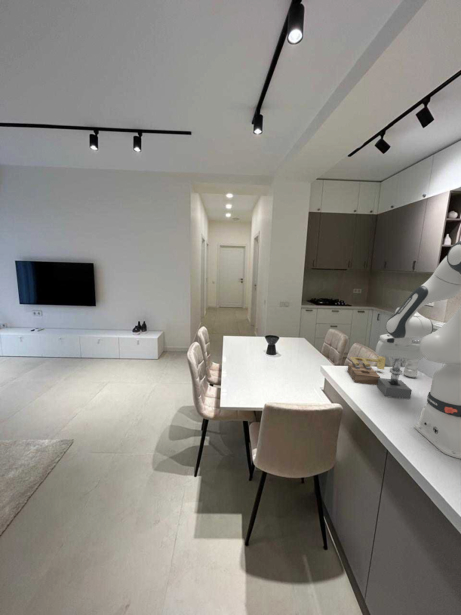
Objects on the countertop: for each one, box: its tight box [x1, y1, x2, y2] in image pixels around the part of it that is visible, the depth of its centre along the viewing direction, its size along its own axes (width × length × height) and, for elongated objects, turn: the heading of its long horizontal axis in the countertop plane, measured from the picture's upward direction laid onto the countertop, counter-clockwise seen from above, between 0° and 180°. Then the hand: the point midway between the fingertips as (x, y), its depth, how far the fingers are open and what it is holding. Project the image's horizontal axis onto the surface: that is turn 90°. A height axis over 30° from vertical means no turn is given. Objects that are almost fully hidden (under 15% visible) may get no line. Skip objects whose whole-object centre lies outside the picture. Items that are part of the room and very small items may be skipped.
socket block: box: [347, 361, 381, 386], centre depth 147 cm, size 16×12×6 cm
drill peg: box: [389, 357, 403, 383], centre depth 129 cm, size 5×5×12 cm
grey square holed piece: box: [376, 377, 413, 400], centre depth 130 cm, size 11×11×5 cm
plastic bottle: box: [403, 359, 419, 378], centre depth 150 cm, size 6×7×20 cm
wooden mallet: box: [350, 355, 387, 370], centre depth 153 cm, size 12×19×7 cm, turn 80°
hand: (396, 365), depth 129 cm, fingers closed on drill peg, 3 cm apart
